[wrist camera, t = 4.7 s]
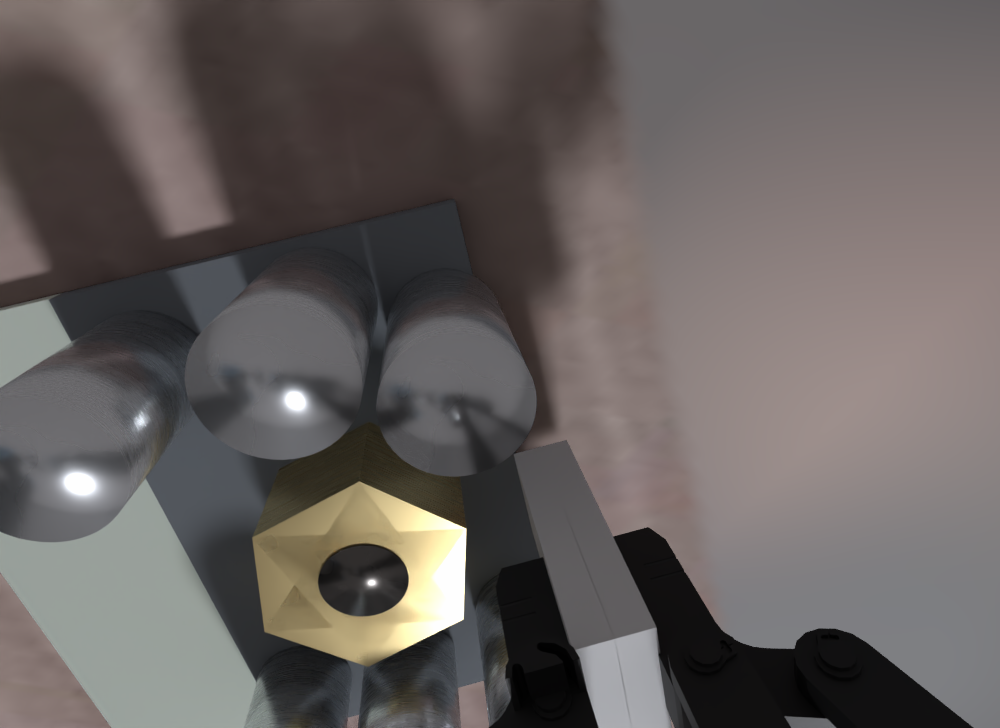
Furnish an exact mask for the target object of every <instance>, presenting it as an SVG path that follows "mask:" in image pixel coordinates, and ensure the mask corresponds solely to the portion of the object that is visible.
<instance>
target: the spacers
mask: <svg viewBox="0 0 1000 728" xmlns="http://www.w3.org/2000/svg"><path fill="white" fill-rule="evenodd" d="M377 317H378V298H377V294H376V290H375V288H374V285H373V283H372V281H371V279H370V278H369V276H368V275H367V273H366V272H365V271H364V270H363V269H362V268H361V266H360V265H358V264H357V263H356V262H355V261H354V260H352V259H351V258H349V257H348V256H346V255H344V254H342V253H340V252H338V251H335V250H332V249H328V248H323V247H303V248H297V249H294V250H291V251H289V252H286V253H284V254H282V255H281V256H279V257H278V258H276V259H275V260H274V261H273V262H272V263H271V264H270V265H269V266H268V267H267V268H266V269H265V270H264V271H263V272H262V273H261V274H259V275H258V276H257V277H256V278H255V279H254V280H253V281H252V282H251V283H250V284H249V285H248V286H247V287H246V288H245V289H244V290H243V291H242V292H241V293H240V294H239V295H238V296H237V297H236V298H235V299H234V300H233V301H232V302H231V303H230V304H229V305H228V306H227V307H226V308H225V309H224V310H223V311H222V312H221V313H220V314H219V315H218V316H217V317H216V318H215V319H214V320H213V321H212V322H211V323H210V324H209V325H208V326H207V327H206V328H205V329H204V330H203V331H202V332H201V333H200V334H199V336H198V335H197V334H196V332H194V331H193V330H192V329H191V328H190V327H189V326H187V325H186V324H184V323H183V322H181V321H179V320H178V319H176V318H174V317H171V316H169V315H166V314H163V313H160V312H155V311H149V310H132V311H126V312H122V313H119V314H116V315H114V316H112V317H110V318H108V319H107V320H105V321H103V322H102V323H100V324H99V325H97V326H96V327H94V328H93V329H91V330H89V331H88V332H86V333H85V334H83V335H82V336H80V337H79V338H77V339H75V340H74V341H72V342H71V343H69V344H68V345H66V346H65V347H63V348H61V349H60V350H58V351H57V352H55V353H54V354H52V355H51V356H49V357H47V358H46V359H44V360H43V361H41V362H40V363H38V364H37V365H35V366H33V367H32V368H30V369H29V370H27V371H26V372H24V373H23V374H21V375H19V376H18V377H16V378H15V379H13V380H12V381H10V382H9V383H7V384H5V385H4V386H2V387H1V388H0V532H2V533H4V534H7V535H10V536H13V537H16V538H20V539H25V540H30V541H37V542H65V541H71V540H76V539H80V538H83V537H86V536H89V535H91V534H93V533H96V532H98V531H99V530H101V529H102V528H104V527H106V526H107V525H108V524H109V523H110V522H111V521H113V519H114V518H115V517H116V516H117V515H118V514H119V512H120V511H121V510H122V508H123V507H124V506H125V505H126V503H127V502H128V501H129V499H130V498H131V497H132V495H133V494H134V493H135V491H136V490H137V489H138V487H139V486H140V485H141V483H142V482H143V481H144V479H145V478H146V477H147V475H148V474H149V473H150V471H151V470H152V469H153V468H154V466H155V465H156V464H157V462H158V461H159V460H160V458H161V457H162V456H163V454H164V453H165V452H166V450H167V449H168V448H169V446H170V445H171V444H172V442H173V441H174V440H175V438H176V437H177V436H178V435H179V433H180V432H181V431H182V429H183V428H184V427H185V425H186V424H187V423H188V421H189V420H190V419H191V417H192V416H193V415H194V413H195V414H196V415H197V417H198V418H199V420H200V421H201V422H202V424H203V425H204V426H205V427H206V428H207V429H208V430H209V431H210V432H211V433H212V434H213V435H214V436H215V437H216V438H218V439H219V440H220V441H222V442H223V443H225V444H226V445H228V446H230V447H232V448H234V449H236V450H238V451H240V452H243V453H245V454H248V455H251V456H255V457H259V458H265V459H272V460H287V459H296V458H301V457H306V456H309V455H312V454H315V453H317V452H319V451H322V450H324V449H325V448H327V447H329V446H330V445H332V444H333V443H335V442H336V441H337V440H338V439H339V438H341V437H342V435H343V434H344V433H345V432H346V431H347V430H348V429H349V427H350V426H351V424H352V423H353V421H354V419H355V417H356V415H357V413H358V410H359V407H360V404H361V398H362V393H363V388H364V383H365V378H366V373H367V368H368V363H369V358H370V353H371V348H372V343H373V337H374V332H375V327H376V322H377ZM536 407H537V397H536V389H535V385H534V382H533V379H532V377H531V374H530V372H529V370H528V368H527V365H526V363H525V361H524V359H523V357H522V354H521V352H520V350H519V348H518V345H517V343H516V341H515V339H514V337H513V334H512V332H511V330H510V328H509V325H508V323H507V321H506V319H505V317H504V314H503V312H502V310H501V308H500V306H499V303H498V301H497V299H496V297H495V295H494V294H493V292H492V291H491V290H490V288H489V287H488V286H487V285H486V284H485V283H484V282H483V281H481V280H480V279H479V278H477V277H476V276H474V275H472V274H470V273H467V272H465V271H462V270H457V269H450V268H441V269H434V270H430V271H426V272H423V273H421V274H419V275H417V276H415V277H414V278H412V279H411V280H409V281H408V282H407V283H406V284H405V285H404V286H403V287H402V288H401V289H400V290H399V292H398V293H397V295H396V296H395V298H394V300H393V302H392V305H391V307H390V311H389V316H388V323H387V330H386V337H385V344H384V351H383V359H382V366H381V373H380V380H379V387H378V394H377V404H376V411H377V419H378V423H379V427H380V430H381V432H382V434H383V437H384V438H385V440H386V442H387V443H388V445H389V446H390V447H391V449H392V450H393V451H394V452H395V453H396V454H397V455H398V456H399V457H400V458H401V459H403V460H404V461H405V462H407V463H408V464H410V465H412V466H413V467H415V468H417V469H419V470H422V471H424V472H427V473H431V474H435V475H440V476H453V477H457V476H467V475H472V474H477V473H480V472H483V471H486V470H488V469H491V468H493V467H495V466H497V465H498V464H500V463H502V462H503V461H505V460H506V459H507V458H509V457H510V456H511V455H512V454H513V453H514V452H515V451H516V450H517V449H518V448H519V447H520V446H521V444H522V443H523V442H524V440H525V439H526V437H527V436H528V434H529V432H530V430H531V427H532V425H533V422H534V418H535V414H536ZM499 574H500V573H499ZM499 574H497V575H495V576H494V577H492V578H491V579H490V580H488V581H487V582H486V583H485V584H484V586H483V587H482V588H481V590H480V591H479V593H478V595H477V598H476V603H475V612H476V620H477V628H478V636H479V645H480V653H481V661H482V669H483V678H484V686H485V694H486V703H487V711H488V719H489V727H490V726H491V725H492V724H494V723H495V722H496V721H497V720H498V719H499V718H500V717H501V715H502V714H503V713H504V712H505V710H506V708H507V706H508V704H509V702H510V699H511V697H510V694H509V691H508V687H507V684H506V681H505V670H506V664H507V662H508V655H507V649H506V643H505V638H504V632H503V626H502V621H501V615H500V608H499V604H498V598H497V592H496V584H497V581H498V577H499ZM351 686H352V671H351V668H350V666H349V664H348V663H347V662H346V660H345V659H343V658H340V657H337V656H334V655H332V654H329V653H326V652H323V651H320V650H317V649H314V648H311V647H308V646H305V645H301V646H294V647H290V648H287V649H284V650H281V651H279V652H277V653H276V654H274V655H273V656H271V657H270V658H269V659H268V660H267V661H266V662H265V663H264V664H263V666H262V668H261V670H260V672H259V676H258V679H257V683H256V686H255V690H254V693H253V697H252V700H251V704H250V707H249V711H248V714H247V718H246V721H245V725H244V728H347V721H348V713H349V704H350V695H351ZM358 728H461V721H460V707H459V694H458V680H457V666H456V653H455V646H454V643H453V641H452V639H451V637H450V636H449V635H448V634H447V633H446V632H445V631H444V630H441V631H439V632H437V633H435V634H433V635H431V636H429V637H427V638H425V639H423V640H421V641H419V642H417V643H415V644H413V645H411V646H409V647H407V648H405V649H403V650H401V651H399V652H397V653H395V654H393V655H391V656H389V657H387V658H385V659H383V660H381V661H379V662H377V663H375V664H373V665H371V666H369V667H367V666H364V670H363V680H362V690H361V701H360V711H359V722H358Z"/></svg>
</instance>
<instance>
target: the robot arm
mask: <svg viewBox="0 0 1000 728" xmlns="http://www.w3.org/2000/svg"><path fill="white" fill-rule="evenodd" d="M514 458H515V462H516V466H517V470H518V474H519V478H520V483H521V487H522V491H523V495H524V499H525V503H526V507H527V511H528V515H529V520H530V524H531V528H532V532H533V535H534V539H535V542H536V546H537V549H538V553H539V556H540V558H538V559H534V560H530V561H527V562H523V563H519V564H516V565H512V566H508V567H504V568H501V571H500V574H499V577H498V581H497V584H496V592H497V598H498V604H499V608H500V615H501V621H502V626H503V632H504V638H505V643H506V649H507V655H508V662H507V664H506V670H505V681H506V684H507V687H508V691H509V694H510V697H511V699H510V702H509V704H508V706H507V708H506V710H505V712H504V713H503V714H502V715H501V717H500V718H499V719H498V720H497V721H496V722H495V723H494V724H492V725H491V726H490V727H489V728H672V727H671V720H672V722H673V724H674V727H675V728H973V727H972V726H970V725H969V724H968V723H967V722H965V721H964V720H963V719H962V718H961V717H959V716H958V715H957V714H955V713H954V712H953V711H952V710H950V709H949V708H948V707H947V706H945V705H944V704H943V703H942V702H940V701H939V700H938V699H937V698H935V697H934V696H933V695H932V694H930V693H929V692H928V691H927V690H925V689H924V688H923V687H922V686H920V685H919V684H918V683H917V682H915V681H914V680H913V679H912V678H910V677H909V676H908V675H907V674H905V673H904V672H903V671H902V670H900V669H899V668H898V667H897V666H895V665H894V664H893V663H892V662H890V661H889V660H888V659H887V658H885V657H884V656H882V654H880V653H879V652H878V651H877V650H875V649H874V648H873V647H871V646H870V645H869V644H868V643H866V642H865V641H863V640H861V639H860V638H858V637H856V636H855V635H853V634H851V633H847V632H844V631H841V630H837V629H816V630H813V631H810V632H807V633H805V634H804V635H803V636H802V637H801V638H800V639H798V640H797V642H796V646H795V649H770V648H759V647H752V646H749V645H746V644H743V643H740V642H738V641H736V640H734V639H733V637H731V636H729V635H728V634H726V633H724V632H723V631H722V630H721V629H720V627H719V626H718V625H717V624H716V622H715V621H714V619H713V617H712V616H711V614H710V612H709V611H708V609H707V607H706V606H705V604H704V602H703V601H702V599H701V597H700V596H699V594H698V592H697V591H696V589H695V587H694V586H693V584H692V583H691V581H690V579H689V578H688V576H687V574H686V573H685V572H684V569H683V568H682V566H681V564H680V563H679V561H678V559H676V556H675V554H674V553H673V551H672V549H671V548H670V546H669V544H668V543H667V541H666V539H664V538H663V537H661V536H660V535H659V534H657V533H656V532H654V531H653V530H651V529H650V528H649V527H647V528H644V529H640V530H636V531H632V532H629V533H625V534H621V535H618V536H614V537H613V536H612V534H611V532H610V529H609V527H608V525H607V523H606V521H605V519H604V517H603V515H602V513H601V511H600V509H599V507H598V504H597V502H596V500H595V498H594V496H593V494H592V492H591V490H590V488H589V486H588V484H587V482H586V480H585V477H584V475H583V473H582V471H581V469H580V467H579V465H578V463H577V461H576V459H575V457H574V455H573V452H572V450H571V448H570V446H569V444H568V442H567V440H565V441H561V442H557V443H553V444H550V445H546V446H542V447H538V448H534V449H531V450H527V451H523V452H519V453H515V454H514ZM670 717H671V720H670Z"/></svg>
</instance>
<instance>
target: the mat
mask: <svg viewBox="0 0 1000 728" xmlns="http://www.w3.org/2000/svg"><path fill="white" fill-rule="evenodd" d="M303 247H323V248H328V249H332V250H335V251H338V252H340V253H342V254H344V255H346V256H348V257H349V258H351V259H352V260H354V261H355V262H356V263H357V264H358V265H360V266H361V268H362V269H363V270H364V271H365V272H366V273H367V275H368V276H369V278H370V279H371V281H372V283H373V285H374V288H375V290H376V294H377V298H378V317H377V322H376V327H375V332H374V337H373V343H372V348H371V353H370V358H369V363H368V368H367V373H366V378H365V383H364V388H363V393H362V398H361V404H360V407H359V410H358V413H357V415H356V417H355V419H354V421H353V423H352V424H351V426H350V427H349V429H348V430H347V431H346V432H345V433H344V434H346V433H348V432H350V431H352V430H354V429H355V428H357V427H359V426H361V425H363V424H365V423H367V422H371V423H373V424H375V425H377V426H379V423H378V419H377V411H376V404H377V394H378V387H379V380H380V373H381V366H382V359H383V351H384V344H385V337H386V330H387V323H388V316H389V311H390V307H391V305H392V302H393V300H394V298H395V296H396V295H397V293H398V292H399V290H400V289H401V288H402V287H403V286H404V285H405V284H406V283H407V282H408V281H409V280H411V279H412V278H414V277H415V276H417V275H419V274H421V273H423V272H426V271H430V270H434V269H441V268H450V269H457V270H462V271H465V272H467V273H470V274H472V269H471V265H470V261H469V257H468V253H467V249H466V244H465V240H464V236H463V232H462V228H461V224H460V219H459V215H458V211H457V207H456V203H455V200H454V199H451V200H446V201H442V202H438V203H434V204H430V205H426V206H422V207H417V208H413V209H409V210H405V211H401V212H397V213H393V214H388V215H384V216H380V217H376V218H372V219H368V220H363V221H359V222H355V223H351V224H347V225H343V226H339V227H334V228H330V229H326V230H322V231H318V232H314V233H310V234H305V235H301V236H297V237H293V238H289V239H285V240H280V241H276V242H272V243H268V244H264V245H260V246H256V247H251V248H247V249H243V250H239V251H235V252H231V253H227V254H222V255H218V256H214V257H210V258H206V259H202V260H198V261H193V262H189V263H185V264H181V265H177V266H173V267H168V268H164V269H160V270H156V271H152V272H148V273H144V274H139V275H135V276H131V277H127V278H123V279H119V280H115V281H110V282H106V283H102V284H98V285H94V286H90V287H85V288H81V289H77V290H73V291H69V292H65V293H61V294H56V295H52V296H48V297H44V298H40V299H36V300H32V301H27V302H23V303H19V304H15V305H11V306H7V307H2V308H0V388H1V387H2V386H4V385H5V384H7V383H9V382H10V381H12V380H13V379H15V378H16V377H18V376H19V375H21V374H23V373H24V372H26V371H27V370H29V369H30V368H32V367H33V366H35V365H37V364H38V363H40V362H41V361H43V360H44V359H46V358H47V357H49V356H51V355H52V354H54V353H55V352H57V351H58V350H60V349H61V348H63V347H65V346H66V345H68V344H69V343H71V342H72V341H74V340H75V339H77V338H79V337H80V336H82V335H83V334H85V333H86V332H88V331H89V330H91V329H93V328H94V327H96V326H97V325H99V324H100V323H102V322H103V321H105V320H107V319H108V318H110V317H112V316H114V315H116V314H119V313H122V312H126V311H132V310H149V311H155V312H160V313H163V314H166V315H169V316H171V317H174V318H176V319H178V320H179V321H181V322H183V323H184V324H186V325H187V326H189V327H190V328H191V329H192V330H193V331H194V332H196V334H197V335H198V336H199V334H200V333H201V332H202V331H203V330H204V329H205V328H206V327H207V326H208V325H209V324H210V323H211V322H212V321H213V320H214V319H215V318H216V317H217V316H218V315H219V314H220V313H221V312H222V311H223V310H224V309H225V308H226V307H227V306H228V305H229V304H230V303H231V302H232V301H233V300H234V299H235V298H236V297H237V296H238V295H239V294H240V293H241V292H242V291H243V290H244V289H245V288H246V287H247V286H248V285H249V284H250V283H251V282H252V281H253V280H254V279H255V278H256V277H257V276H258V275H259V274H261V273H262V272H263V271H264V270H265V269H266V268H267V267H268V266H269V265H270V264H271V263H272V262H273V261H274V260H275V259H276V258H278V257H279V256H281V255H282V254H284V253H286V252H289V251H291V250H294V249H297V248H303ZM472 275H473V274H472ZM344 434H343V435H344ZM514 454H515V452H514V453H513V454H512V455H511V456H510V457H509V458H507V459H506V460H505V461H503V462H502V463H500V464H498V465H497V466H495V467H493V468H491V469H488V470H486V471H483V472H480V473H477V474H472V475H467V476H460V482H461V490H462V498H463V506H464V514H465V522H466V552H465V583H464V615H463V620H461V621H459V622H457V623H455V624H453V625H451V626H449V627H447V628H445V629H443V630H444V631H445V632H446V633H447V634H448V635H449V636H450V637H451V639H452V641H453V643H454V646H455V653H456V666H457V680H458V687H462V686H466V685H469V684H473V683H477V682H480V681H484V678H483V669H482V661H481V653H480V645H479V636H478V628H477V620H476V612H475V603H476V598H477V595H478V593H479V591H480V590H481V588H482V587H483V586H484V584H485V583H486V582H487V581H488V580H490V579H491V578H492V577H494V576H495V575H497V574H499V573H500V571H501V568H504V567H508V566H512V565H516V564H519V563H523V562H527V561H530V560H534V559H538V558H540V556H539V553H538V549H537V546H536V542H535V539H534V535H533V532H532V528H531V524H530V520H529V515H528V511H527V507H526V503H525V499H524V495H523V491H522V487H521V483H520V478H519V474H518V470H517V466H516V462H515V458H514ZM297 459H299V458H296V459H287V460H272V459H265V458H259V457H255V456H251V455H248V454H245V453H243V452H240V451H238V450H236V449H234V448H232V447H230V446H228V445H226V444H225V443H223V442H222V441H220V440H219V439H218V438H216V437H215V436H214V435H213V434H212V433H211V432H210V431H209V430H208V429H207V428H206V427H205V426H204V425H203V424H202V422H201V421H200V420H199V418H198V417H197V415H196V414H195V413H194V415H193V416H192V417H191V419H190V420H189V421H188V423H187V424H186V425H185V427H184V428H183V429H182V431H181V432H180V433H179V435H178V436H177V437H176V438H175V440H174V441H173V442H172V444H171V445H170V446H169V448H168V449H167V450H166V452H165V453H164V454H163V456H162V457H161V458H160V460H159V461H158V462H157V464H156V465H155V466H154V468H153V469H152V470H151V471H150V473H149V474H148V475H147V477H146V478H145V479H144V481H143V482H142V483H141V485H140V486H139V487H138V489H137V490H136V491H135V493H134V494H133V495H132V497H131V498H130V499H129V501H128V502H127V503H126V505H125V506H124V507H123V508H122V510H121V511H120V512H119V514H118V515H117V516H116V517H115V518H114V519H113V521H111V522H110V523H109V524H108V525H107V526H106V527H104V528H102V529H101V530H99V531H98V532H96V533H93V534H91V535H89V536H86V537H83V538H80V539H76V540H71V541H65V542H37V541H30V540H25V539H20V538H16V537H13V536H10V535H7V534H4V533H2V532H0V572H1V574H2V575H3V577H4V578H5V579H6V581H7V582H8V584H9V585H10V586H11V588H12V589H13V591H14V592H15V593H16V595H17V596H18V598H19V599H20V600H21V602H22V603H23V605H24V606H25V607H26V609H27V610H28V612H29V613H30V614H31V616H32V617H33V619H34V620H35V621H36V623H37V624H38V626H39V627H40V628H41V630H42V631H43V633H44V634H45V635H46V637H47V638H48V640H49V641H50V642H51V644H52V645H53V647H54V648H55V649H56V651H57V652H58V654H59V655H60V656H61V658H62V659H63V661H64V662H65V663H66V665H67V666H68V668H69V669H70V670H71V672H72V673H73V675H74V676H75V677H76V679H77V680H78V681H79V683H80V684H81V686H82V687H83V688H84V690H85V691H86V693H87V694H88V695H89V697H90V698H91V700H92V701H93V702H94V704H95V705H96V707H97V708H98V709H99V711H100V712H101V714H102V715H103V716H104V718H105V719H106V721H107V722H108V723H109V725H110V726H111V728H244V725H245V721H246V718H247V714H248V711H249V707H250V704H251V700H252V697H253V693H254V690H255V686H256V683H257V679H258V676H259V672H260V670H261V668H262V666H263V664H264V663H265V662H266V661H267V660H268V659H269V658H270V657H271V656H273V655H274V654H276V653H277V652H279V651H281V650H284V649H287V648H290V647H294V646H301V645H302V644H299V643H296V642H293V641H290V640H287V639H284V638H281V637H278V636H275V635H272V634H269V633H266V632H265V631H264V624H263V616H262V609H261V601H260V593H259V586H258V578H257V570H256V563H255V555H254V547H253V540H252V537H253V535H254V532H255V529H256V527H257V524H258V522H259V519H260V517H261V514H262V512H263V509H264V507H265V504H266V501H267V499H268V496H269V494H270V491H271V489H272V486H273V484H274V481H275V479H276V476H277V473H278V471H279V469H280V468H282V467H284V466H286V465H288V464H290V463H292V462H293V461H295V460H297ZM345 660H346V659H345ZM346 662H347V663H348V664H349V666H350V668H351V671H352V686H351V695H350V704H349V713H348V717H352V716H355V715H359V711H360V701H361V690H362V680H363V670H364V665H361V664H358V663H355V662H352V661H349V660H346Z"/></svg>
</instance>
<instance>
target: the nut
mask: <svg viewBox="0 0 1000 728" xmlns="http://www.w3.org/2000/svg"><path fill="white" fill-rule="evenodd" d="M252 540H253V547H254V555H255V563H256V570H257V578H258V586H259V593H260V601H261V609H262V616H263V624H264V631H265V632H266V633H269V634H272V635H275V636H278V637H281V638H284V639H287V640H290V641H293V642H296V643H299V644H302V645H305V646H308V647H311V648H314V649H317V650H320V651H323V652H326V653H329V654H332V655H334V656H337V657H340V658H343V659H346V660H349V661H352V662H355V663H358V664H361V665H364V666H367V667H369V666H371V665H373V664H375V663H377V662H379V661H381V660H383V659H385V658H387V657H389V656H391V655H393V654H395V653H397V652H399V651H401V650H403V649H405V648H407V647H409V646H411V645H413V644H415V643H417V642H419V641H421V640H423V639H425V638H427V637H429V636H431V635H433V634H435V633H437V632H439V631H441V630H443V629H445V628H447V627H449V626H451V625H453V624H455V623H457V622H459V621H461V620H463V615H464V583H465V552H466V522H465V514H464V506H463V498H462V490H461V482H460V476H457V477H453V476H440V475H435V474H431V473H427V472H424V471H422V470H419V469H417V468H415V467H413V466H412V465H410V464H408V463H407V462H405V461H404V460H403V459H401V458H400V457H399V456H398V455H397V454H396V453H395V452H394V451H393V450H392V449H391V447H390V446H389V445H388V443H387V442H386V440H385V438H384V437H383V434H382V432H381V430H380V427H379V426H377V425H375V424H373V423H371V422H367V423H365V424H363V425H361V426H359V427H357V428H355V429H354V430H352V431H350V432H348V433H346V434H344V435H342V437H341V438H339V439H338V440H337V441H336V442H335V443H333V444H332V445H330V446H329V447H327V448H325V449H324V450H322V451H319V452H317V453H315V454H312V455H309V456H306V457H301V458H299V459H297V460H295V461H293V462H292V463H290V464H288V465H286V466H284V467H282V468H280V469H279V471H278V473H277V476H276V479H275V481H274V484H273V486H272V489H271V491H270V494H269V496H268V499H267V501H266V504H265V507H264V509H263V512H262V514H261V517H260V519H259V522H258V524H257V527H256V529H255V532H254V535H253V537H252Z"/></svg>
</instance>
